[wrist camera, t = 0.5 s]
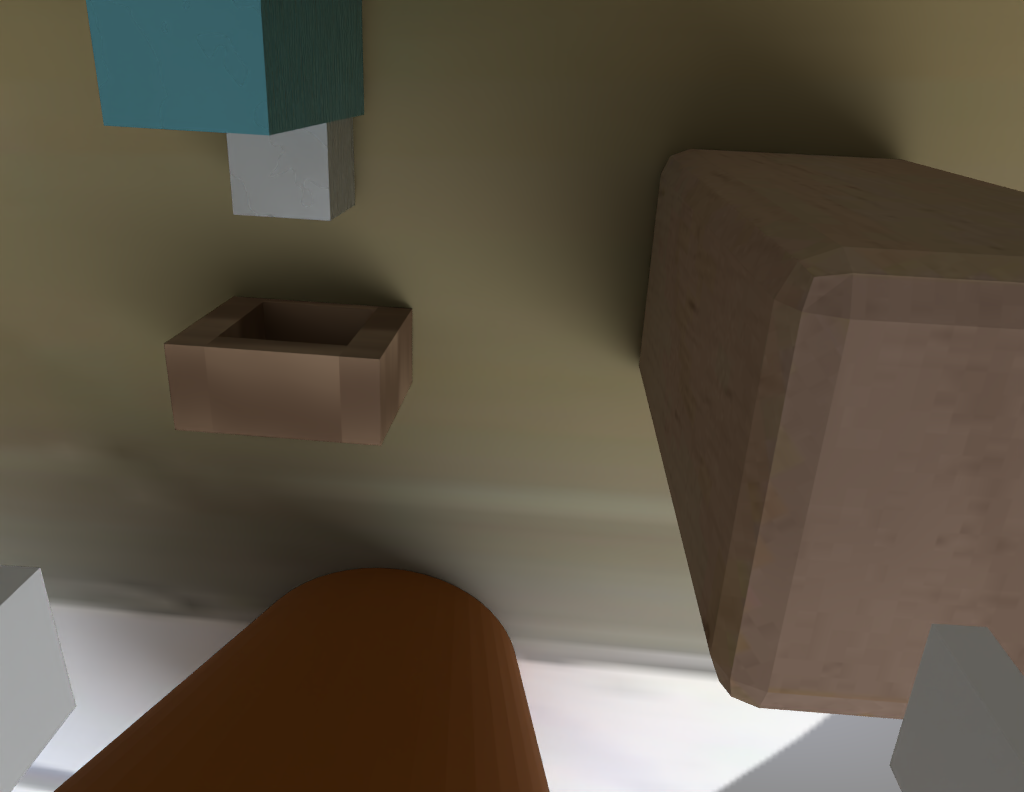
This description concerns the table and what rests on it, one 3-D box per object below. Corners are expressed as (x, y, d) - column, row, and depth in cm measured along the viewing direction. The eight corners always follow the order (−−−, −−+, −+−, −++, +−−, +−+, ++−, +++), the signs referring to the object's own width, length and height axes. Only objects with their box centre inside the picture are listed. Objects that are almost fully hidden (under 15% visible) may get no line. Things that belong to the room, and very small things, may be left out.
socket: (233, 296, 34) (163, 343, 29) (412, 308, 34) (379, 359, 28) (240, 370, 36) (174, 429, 30) (412, 382, 36) (381, 445, 30)
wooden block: (634, 378, 35) (711, 725, 16) (660, 145, 31) (800, 256, 13) (861, 392, 34) (1201, 764, 16) (916, 158, 30) (1451, 292, 12)
